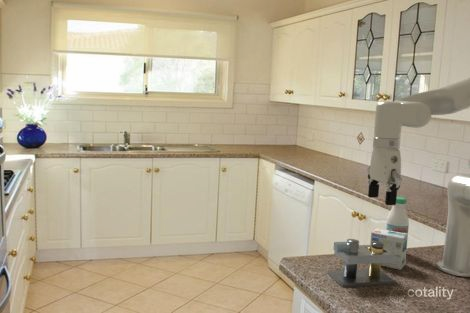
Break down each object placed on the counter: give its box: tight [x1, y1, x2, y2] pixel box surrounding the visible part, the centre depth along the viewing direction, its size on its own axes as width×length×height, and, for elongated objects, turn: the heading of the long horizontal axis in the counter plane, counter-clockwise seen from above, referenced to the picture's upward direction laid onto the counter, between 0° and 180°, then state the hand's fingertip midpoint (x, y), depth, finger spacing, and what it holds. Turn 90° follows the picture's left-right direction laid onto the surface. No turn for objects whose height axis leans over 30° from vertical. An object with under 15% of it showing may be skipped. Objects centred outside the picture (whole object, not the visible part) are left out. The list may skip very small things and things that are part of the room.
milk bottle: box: [384, 196, 410, 240], centre depth 171 cm, size 8×8×20 cm
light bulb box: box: [369, 227, 409, 271], centre depth 160 cm, size 11×7×11 cm, turn 59°
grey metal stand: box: [327, 238, 396, 288], centre depth 145 cm, size 18×10×12 cm, turn 104°
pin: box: [368, 242, 384, 277], centre depth 146 cm, size 3×3×10 cm
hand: (381, 200), depth 144 cm, fingers open, 9 cm apart
